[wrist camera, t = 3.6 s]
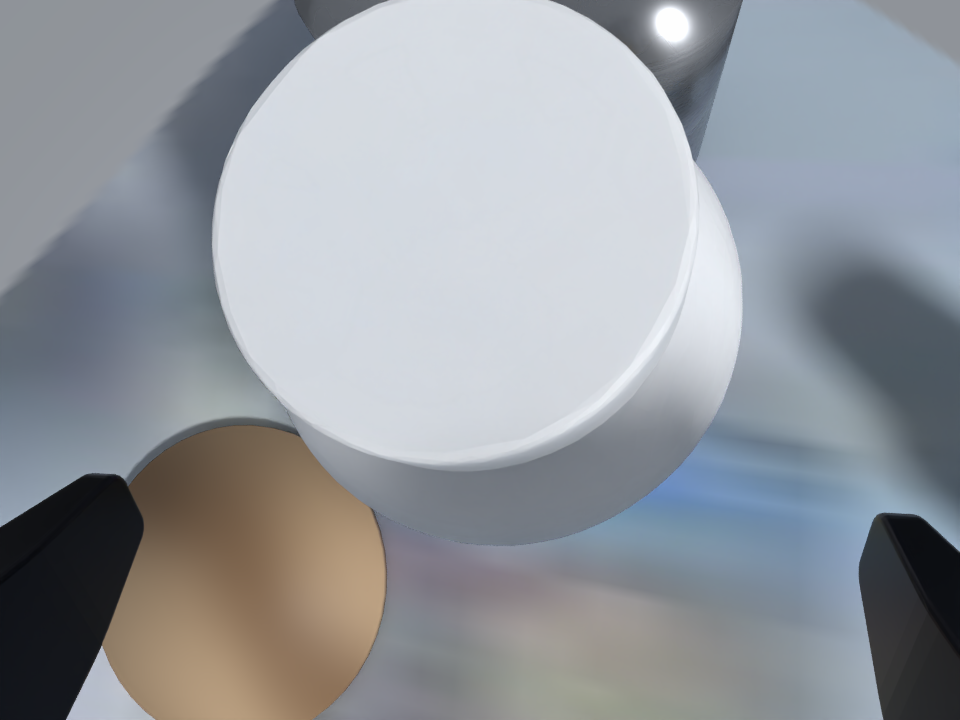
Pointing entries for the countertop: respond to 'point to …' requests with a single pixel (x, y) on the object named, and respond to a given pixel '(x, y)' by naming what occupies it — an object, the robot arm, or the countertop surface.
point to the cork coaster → (246, 582)
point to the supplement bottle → (479, 267)
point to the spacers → (628, 43)
